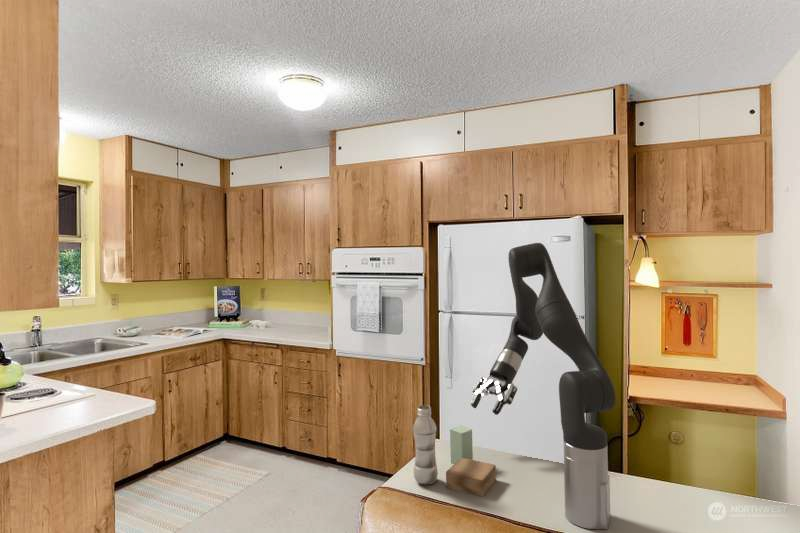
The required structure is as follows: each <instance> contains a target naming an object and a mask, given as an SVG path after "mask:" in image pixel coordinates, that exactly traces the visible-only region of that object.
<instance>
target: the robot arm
mask: <svg viewBox="0 0 800 533" xmlns="http://www.w3.org/2000/svg"><path fill="white" fill-rule="evenodd" d="M508 266H509V272H510V278H511V281H512V282H511V283H512V288H513V292H514V297H515V316H514V317H513V319H512V321H511V326H510V331H509V335H508V338H507V340H506V343H505V345H504V346H503V348H502V350H501V352H500V353H499V354H498V356H497V358H496V359H495V361H494V364H493V365H492V367H491V368H490V370H489V376H488V377H487V378H484V376H482V375H480V376H479V377H478V379H477V380H476V382H475V384H473V387H472V389H471V392H472V393H473V394H474V396H473V397H472V399H471V401H470V406H471V407H472V408H473V409H477V407H478V406H479V404H480V401H481V400H482V398H483V397H485V396H488V395H494V396H497V397H498V400H497V401H496V402H495V405H494V406H493V408H492V413H493V414H494V415H496V416H499V414H500V413H501V412H502V409H503V407H504V406H505V405H512V403H513V401H514V399H515V396H516V393H517V391H518V387H517V386H516V385H515V384H514V383H513V382H514V379H515V378H516V376H517V374H518V371H520V370H519V369H520V367H521V365H522V362H523V360H524V358H525V356H526V354H527V352H528V350H529V346H528V345H529V344H528V343H527V341H526V340H524V339H523V338H525V339H528V340H530V341H531V340H532V341H537V340H539V339H540V338H542V336H543V335H544V336H545V337H546V338H547V339H548V340H549V341H550V343H552V344H553V345H554V346H555V347H556V348H558V349H559V350H561V352H563V353H564V354H565V355H566V356H568V357H569V359H571V361H573V363H574V364H575V366H576V367H577V369H578V370H572V371H566V372H563V373H562V374H561V376H560V378H559V382H558V397H559V408H560V423H561V424H560V425H561V430H562V434H563V435H562V436H563V468H564V469H563V472H564V473H563V474H564V475H563V476H564V481H563V482H564V484H563V485H564V516H565V518H566V520H568V521H569V522H570V523H572V524H573V525H576V526H578V527H580V528H584V529H589V530H606V531H607V530H608V528H609V525H610V520H611V484H610V483H611V482H610V480H611V479H610V475H609V461H608V460H609V459H608V450H609V449H608V434H607V432H606V431H605V429H603V428H602V427H600V426H598V425H595V424H593V423H589V422H586V416H585V414H590V413H592V414H595V413H603V412H608V411H611V410H613V409H614V407H615V406H616V402H617V398H616V397H617V396H616V391H615V386H614V384H613V381H612V380H611V377H610V375H609V373H608V372H607V370H606V369H605V367H604V365H603V364H602V362H601V360H600V359H599V357H598V355H597V354H596V352H595V351H594V350H593V347H592V346H591V344H590V342H589V340H588V338H587V336H586V334H585V333H584V330H583V329H582V327H581V324H580V321H579V318H578V317H577V314H576V312H575V310H574V308H573V306H572V304H571V302H570V300H569V298H568V297H567V295H566V292H565V291H564V288H563V287H562V284H561V282H560V279H559V278H558V275H557V272H556V270H555V267H554V264H553V262H552V259H551V256H550V254H549V252H548V250H547V248H546V246H545V245H544V244H543V243H541V242H533V243H529V244H524V245H520V246H516V247H513V248H510V250H509V251H508ZM538 275H541V276H542V278H543V280H542V285H541V288H540V292H539V294H538V295H537V293H536V292H535V291H534V289H533V288H531V286H529V285H528V284H527V283H526V282H525V280H524V279H523V278H530V277H533V276H538ZM520 336H521V337H520ZM522 337H523V338H522Z"/></svg>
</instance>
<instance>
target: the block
mask: <svg viewBox="0 0 800 533" xmlns="http://www.w3.org/2000/svg"><path fill="white" fill-rule="evenodd" d="M449 433H450V434H449V436H450V439H449V440H450V442H449V443H450V464H451V465H453V464H455V463H456V462H457V461H458V460H459V459H460V458H466V459H470V460H474V458H473V457H474V454H473V429H472V428H468V427H466V426H463V425H459V426H456V427H452V428H449Z"/></svg>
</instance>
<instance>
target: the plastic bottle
mask: <svg viewBox="0 0 800 533" xmlns="http://www.w3.org/2000/svg"><path fill="white" fill-rule="evenodd" d="M416 413H417V416H418V417H416V419H415V421H414V423H413V426H412V430H413V438H414V446H415V458H414V459H415V460H414V465H413V466H414V467H413V476H414V479H415V481H416V482H417V483H418V484H420V485H432V484H434V483H435V482H436V481H437V479H438V474H439V473H438V472H439V471H438V470H439V469H438V466H437V461H436V459H437V458H436V436H437V424H436V422H435V421H434V419H433V418H432V407H431V406H430V405H419V406H418V407H417V412H416Z"/></svg>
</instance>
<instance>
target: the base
mask: <svg viewBox="0 0 800 533" xmlns="http://www.w3.org/2000/svg"><path fill="white" fill-rule="evenodd" d="M496 465H497V464H492V463H488V462H484V461H480V460H476V459H473V460H470V459H466V458H460V459H459V460H458V461H457V462H456V463H455V464H454V465H453V464H452V466H450V467H449V469H447V471H445V482H446V483H445V486H446V488H448V489H453V490H456V491H460V492H464V493H466V494H467V493H468V494H470V495H471V494H472V495H476V496H480V497H484V496H485V494H486V493H487V492H488V490H489V489H490V488H491V487H492V485H493V484H494V483H495V482H496V480H497V474H496V472H497V470H496V469H497V466H496Z"/></svg>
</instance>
